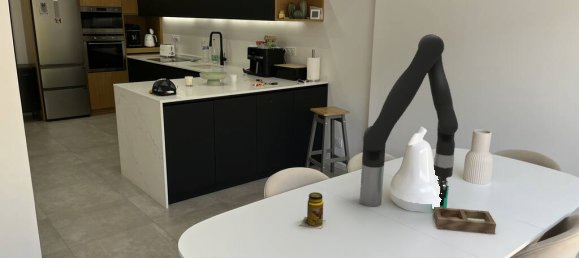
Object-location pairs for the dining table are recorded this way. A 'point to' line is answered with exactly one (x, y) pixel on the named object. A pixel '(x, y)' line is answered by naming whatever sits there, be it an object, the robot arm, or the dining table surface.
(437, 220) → the slot rack
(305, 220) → the condiment
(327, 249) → the dining table surface
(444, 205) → the candle
